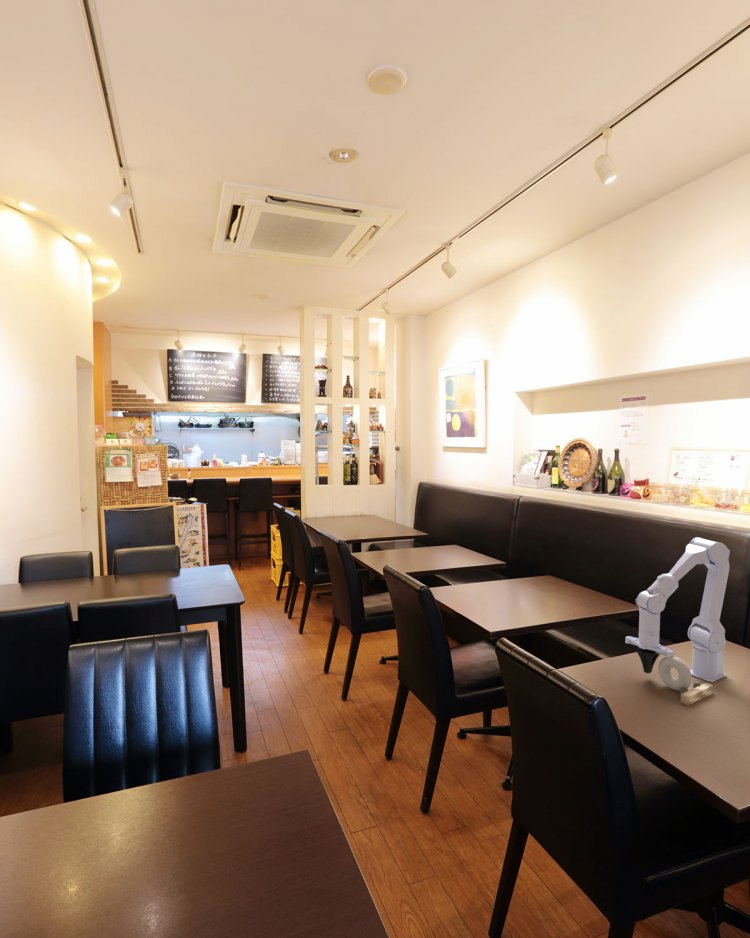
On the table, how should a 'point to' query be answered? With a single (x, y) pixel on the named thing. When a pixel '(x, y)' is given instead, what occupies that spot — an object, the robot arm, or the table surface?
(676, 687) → the donut
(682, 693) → the locator
